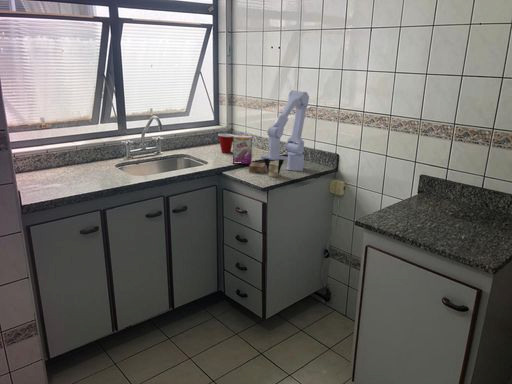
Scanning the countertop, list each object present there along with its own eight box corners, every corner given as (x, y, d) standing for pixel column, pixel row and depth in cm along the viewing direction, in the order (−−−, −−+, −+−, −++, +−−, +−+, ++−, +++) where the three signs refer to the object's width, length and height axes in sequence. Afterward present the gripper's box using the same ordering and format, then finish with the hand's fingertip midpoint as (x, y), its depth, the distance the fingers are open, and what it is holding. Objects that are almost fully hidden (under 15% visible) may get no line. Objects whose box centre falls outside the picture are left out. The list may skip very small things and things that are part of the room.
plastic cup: (237, 151, 274) (237, 133, 270) (228, 155, 266) (228, 136, 262) (224, 149, 280) (224, 131, 276) (214, 152, 271) (214, 134, 267)
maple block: (278, 174, 230) (278, 164, 228) (277, 177, 225) (278, 166, 223) (269, 173, 231) (269, 163, 229) (268, 176, 226) (268, 166, 224)
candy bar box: (232, 163, 248) (232, 136, 242) (233, 161, 252) (234, 135, 247) (251, 164, 247) (251, 137, 241) (252, 162, 251) (252, 135, 246)
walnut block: (265, 169, 239) (265, 163, 238) (262, 173, 232) (263, 166, 230) (252, 168, 240) (252, 161, 239) (248, 172, 233) (249, 165, 232)
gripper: (260, 149, 220) (259, 173, 225) (287, 151, 218) (286, 175, 223) (262, 146, 227) (261, 170, 231) (288, 148, 225) (287, 171, 229)
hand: (273, 172), depth 228 cm, fingers closed on maple block, 5 cm apart
